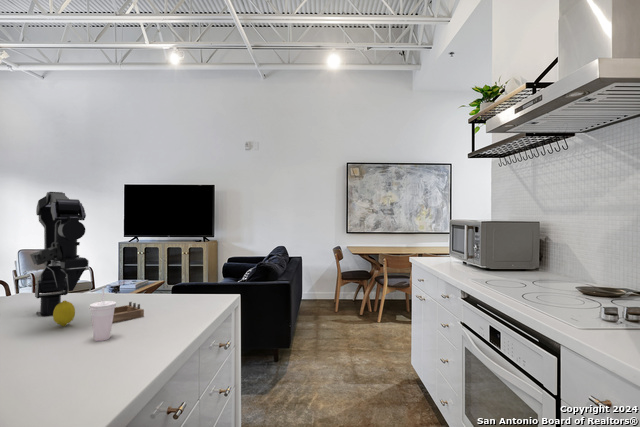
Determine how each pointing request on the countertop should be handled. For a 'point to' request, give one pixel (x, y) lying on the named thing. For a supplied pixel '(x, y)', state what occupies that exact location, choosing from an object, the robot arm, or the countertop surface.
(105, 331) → the smoothie
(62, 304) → the lemon
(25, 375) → the countertop surface
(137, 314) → the tray
